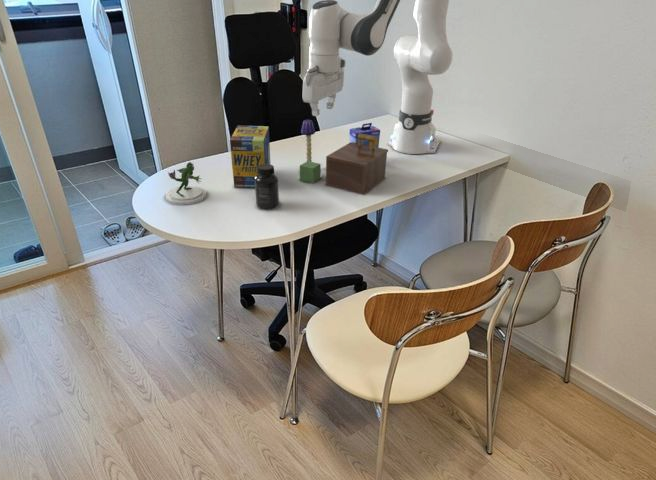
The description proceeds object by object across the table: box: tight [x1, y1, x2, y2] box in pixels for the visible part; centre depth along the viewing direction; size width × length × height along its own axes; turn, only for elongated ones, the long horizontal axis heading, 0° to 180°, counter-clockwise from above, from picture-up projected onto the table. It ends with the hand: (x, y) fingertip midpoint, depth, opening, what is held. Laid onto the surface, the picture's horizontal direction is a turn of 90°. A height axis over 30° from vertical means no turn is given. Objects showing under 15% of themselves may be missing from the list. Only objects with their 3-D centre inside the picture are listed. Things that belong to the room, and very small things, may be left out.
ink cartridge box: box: [348, 122, 381, 148], centre depth 174 cm, size 10×6×14 cm, turn 117°
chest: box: [325, 152, 388, 196], centre depth 160 cm, size 16×14×9 cm
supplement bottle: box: [254, 163, 280, 211], centre depth 144 cm, size 7×7×12 cm
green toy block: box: [299, 160, 322, 184], centre depth 163 cm, size 5×5×5 cm
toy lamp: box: [300, 119, 316, 162], centre depth 167 cm, size 5×5×17 cm
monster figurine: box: [165, 161, 207, 206], centre depth 149 cm, size 12×12×10 cm
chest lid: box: [325, 133, 389, 167], centre depth 157 cm, size 17×14×5 cm
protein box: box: [229, 124, 271, 189], centre depth 159 cm, size 10×15×16 cm
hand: (323, 111), depth 153 cm, fingers open, 8 cm apart
